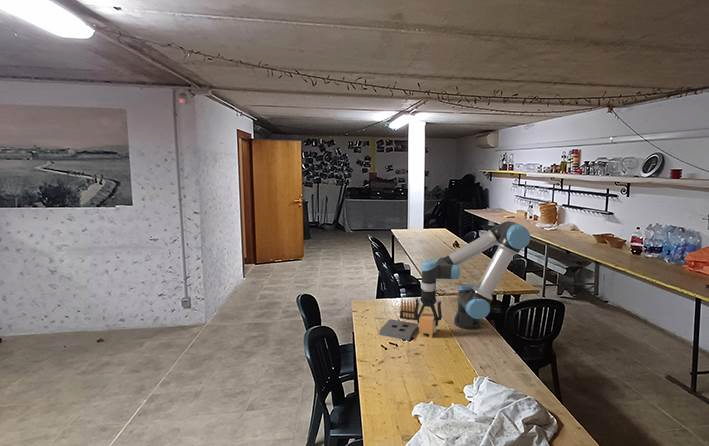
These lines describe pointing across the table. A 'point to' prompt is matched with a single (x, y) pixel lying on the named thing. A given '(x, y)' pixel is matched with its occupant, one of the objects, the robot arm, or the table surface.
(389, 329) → the socket plate
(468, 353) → the table surface
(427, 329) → the cardboard-colored brick
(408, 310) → the ammunition clip
